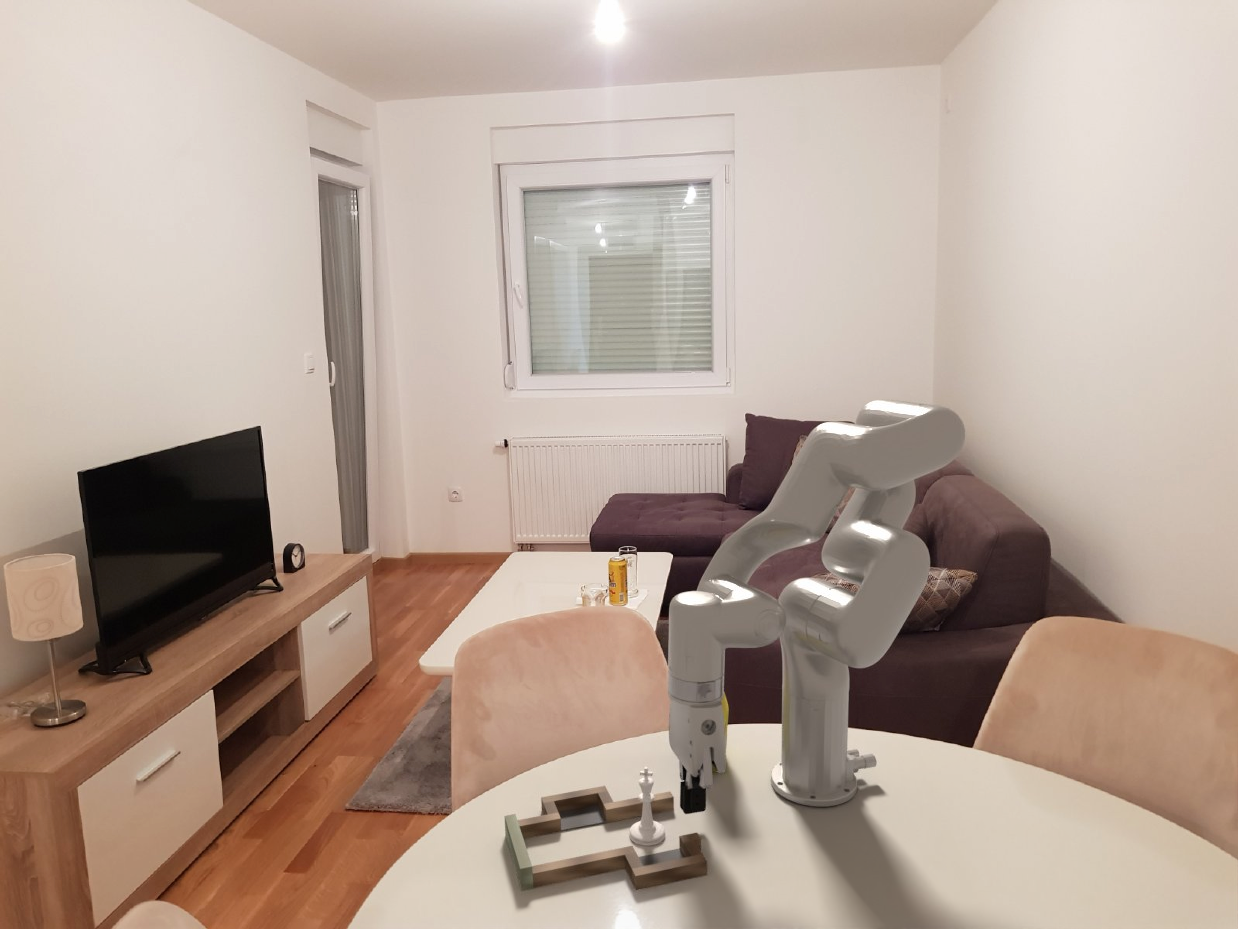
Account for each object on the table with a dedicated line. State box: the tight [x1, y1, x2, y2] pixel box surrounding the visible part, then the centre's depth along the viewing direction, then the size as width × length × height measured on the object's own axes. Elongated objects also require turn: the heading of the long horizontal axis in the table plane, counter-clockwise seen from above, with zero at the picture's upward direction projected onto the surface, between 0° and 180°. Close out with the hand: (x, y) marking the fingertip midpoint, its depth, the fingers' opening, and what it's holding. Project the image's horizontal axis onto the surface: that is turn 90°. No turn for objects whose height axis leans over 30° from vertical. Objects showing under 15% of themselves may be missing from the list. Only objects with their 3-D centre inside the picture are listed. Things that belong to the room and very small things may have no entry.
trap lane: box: [504, 785, 708, 891], centre depth 119 cm, size 24×21×3 cm
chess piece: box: [628, 766, 666, 847], centre depth 120 cm, size 5×5×10 cm
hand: (692, 809), depth 122 cm, fingers closed
